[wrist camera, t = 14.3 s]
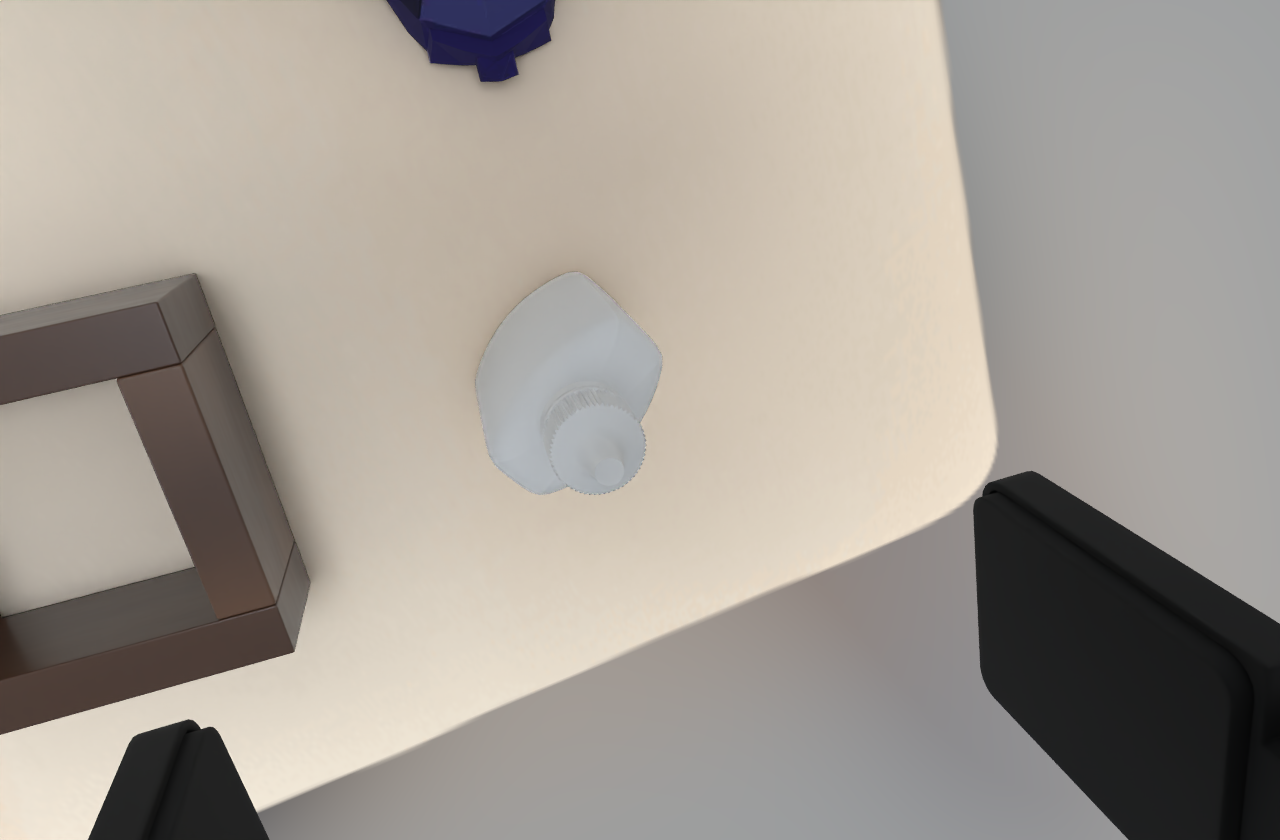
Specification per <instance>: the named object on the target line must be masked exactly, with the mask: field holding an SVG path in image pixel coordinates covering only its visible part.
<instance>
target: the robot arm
mask: <svg viewBox="0 0 1280 840" xmlns="http://www.w3.org/2000/svg"><path fill="white" fill-rule="evenodd" d="M973 514H974V535H975V536H974V537H975V559H976V579H977V580H976V581H977V604H978V626H979V649H980V668H981V673H982V676H983V680H984V682H985V684H986V687H987V688H988V690H989V692H990V693H991V694H992V696H993V697H994V698H995V699H996V700H997V701H998V702H999V703H1000V704H1001V705H1002V707H1003V708H1004V709H1005V710H1006V711H1007V712H1008V713H1009V714H1010V715H1011V716H1012V717H1013V718H1014V719H1015V720H1016V721H1017V722H1018V724H1020V726H1021V727H1022V728H1023V729H1024V730H1025V731H1026V732H1027V733H1028V734H1029V735H1030V736H1031V737H1032V738H1033V739H1034V740H1035V741H1036V742H1037V744H1038V745H1040V747H1041V748H1042V749H1043V750H1044V751H1045V752H1046V753H1047V754H1048V755H1049V756H1050V757H1051V758H1052V759H1053V760H1054V761H1055V763H1056V764H1058V766H1059V767H1060V768H1061V769H1062V770H1063V771H1064V772H1065V773H1066V774H1067V775H1068V776H1069V777H1070V778H1071V779H1072V780H1073V781H1074V783H1075V784H1076V785H1077V786H1078V787H1079V788H1080V789H1081V790H1082V791H1083V792H1084V793H1085V794H1086V795H1087V796H1088V797H1089V798H1090V799H1091V801H1092V802H1093V803H1094V804H1095V805H1096V806H1097V807H1098V808H1099V809H1100V810H1101V811H1102V812H1103V813H1104V814H1105V815H1106V816H1107V817H1108V819H1110V821H1111V822H1112V823H1113V824H1114V825H1115V826H1116V827H1117V828H1118V829H1119V830H1120V831H1121V832H1122V833H1123V834H1124V835H1125V836H1126V837H1127V838H1128V840H1280V624H1279V623H1277V622H1276V621H1274V620H1273V619H1271V618H1270V617H1268V616H1266V615H1265V614H1263V613H1262V612H1260V611H1258V610H1257V609H1255V608H1254V607H1252V606H1250V605H1248V604H1247V603H1245V602H1244V601H1242V600H1241V599H1239V598H1237V597H1236V596H1234V595H1232V594H1231V593H1229V592H1228V591H1226V590H1224V589H1223V588H1222V587H1220V586H1218V585H1217V584H1215V583H1213V582H1212V581H1210V580H1209V579H1207V578H1205V577H1204V576H1202V575H1201V574H1199V573H1197V572H1196V571H1194V570H1193V569H1191V568H1189V567H1188V566H1186V565H1185V564H1183V563H1181V562H1180V561H1178V560H1177V559H1175V558H1173V557H1172V556H1170V555H1169V554H1167V553H1165V552H1164V551H1162V550H1160V549H1159V548H1157V547H1156V546H1154V545H1152V544H1151V543H1149V542H1148V541H1146V540H1144V539H1143V538H1141V537H1140V536H1138V535H1136V534H1134V533H1133V532H1132V531H1130V530H1128V529H1127V528H1125V527H1124V526H1122V525H1120V524H1118V523H1117V522H1116V521H1114V520H1112V519H1111V518H1109V517H1108V516H1106V515H1104V514H1103V513H1101V512H1100V511H1098V510H1096V509H1094V508H1093V507H1092V506H1090V505H1088V504H1087V503H1085V502H1083V501H1082V500H1080V499H1079V498H1077V497H1075V496H1074V495H1072V494H1070V493H1069V492H1067V491H1066V490H1064V489H1063V488H1061V487H1059V486H1058V485H1056V484H1055V483H1053V482H1051V481H1050V480H1048V479H1046V478H1045V477H1043V476H1041V475H1040V474H1038V473H1036V472H1033V471H1027V472H1024V473H1020V474H1017V475H1013V476H1010V477H1007V478H1003V479H1000V480H997V481H993V482H990V483H988V484H987V485H986V486H985V488H984V490H983V496H982V497H980V498H978V499H976V500H975V503H974V509H973ZM88 840H269V838H268V836H267V834H266V831H265V830H264V827H263V825H262V823H261V821H260V819H259V817H258V814H257V812H256V810H255V808H254V806H253V804H252V802H251V800H250V798H249V795H248V793H247V791H246V789H245V787H244V785H243V783H242V781H241V778H240V776H239V774H238V772H237V770H236V768H235V766H234V764H233V761H232V759H231V757H230V755H229V753H228V751H227V749H226V747H225V745H224V742H223V740H222V738H221V736H220V734H219V733H218V731H217V730H216V729H215V728H214V727H207V728H204V729H200V727H199V725H198V724H197V723H196V722H194V721H193V720H189V719H188V720H185V721H181V722H178V723H174V724H171V725H168V726H164V727H161V728H158V729H154V730H151V731H147V732H144V733H141V734H138V735H136V736H134V737H133V738H132V740H131V741H130V743H129V745H128V747H127V750H126V752H125V754H124V757H123V759H122V761H121V764H120V766H119V768H118V771H117V773H116V775H115V778H114V780H113V782H112V785H111V787H110V789H109V792H108V794H107V796H106V799H105V801H104V803H103V806H102V808H101V810H100V813H99V815H98V817H97V820H96V822H95V824H94V827H93V829H92V831H91V834H90V836H89V838H88Z"/></svg>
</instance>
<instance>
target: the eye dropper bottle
mask: <svg viewBox="0 0 1280 840" xmlns="http://www.w3.org/2000/svg"><path fill="white" fill-rule="evenodd" d="M661 369H662V355H661V352H660V351H659V349H658V347H657V345H656V344H655V343H654V341H653V340H652V339H651V338H650V337H649V336H648V335H647V334H646V332H645V331H644V330H643V329H642V328H641V327H640V326H639V325H638V324H637V323H636V322H635V321H634V320H633V319H632V318H631V317H630V316H629V315H628V314H627V313H626V312H625V311H624V310H623V309H622V308H621V307H620V305H619V304H618V303H617V302H616V301H615V300H614V299H613V298H611V297H610V296H609V295H608V294H607V293H606V292H605V291H604V290H603V289H602V288H600V287H599V286H598V285H597V284H596V283H595V282H594V281H592V280H591V279H590V278H589V277H588V276H586V275H584V274H582V273H580V272H568V273H565V274H563V275H561V276H558V277H556V278H554V279H552V280H551V281H549V282H547V283H546V284H544V285H542V286H541V287H539V288H538V289H536V290H535V291H533V292H532V293H531V294H530V295H528V296H527V297H526V298H525V299H523V300H522V301H521V302H520V303H519V304H518V305H517V306H516V307H515V308H514V309H513V310H512V311H511V312H510V313H509V314H508V316H507V317H506V318H505V319H504V320H503V322H502V323H501V324H500V326H499V327H498V329H497V330H496V332H495V333H494V335H493V337H492V338H491V340H490V342H489V344H488V346H487V348H486V350H485V352H484V354H483V357H482V359H481V362H480V365H479V368H478V371H477V375H476V379H475V386H476V395H477V400H478V405H479V411H480V416H481V421H482V426H483V431H484V436H485V441H486V446H487V449H488V453H489V456H490V458H491V460H492V461H493V463H494V464H495V466H496V467H497V468H498V469H499V470H500V471H502V472H503V473H504V474H505V475H507V476H508V477H509V478H511V479H512V480H513V481H515V482H516V483H517V484H519V485H520V486H522V487H523V488H525V489H526V490H528V491H530V492H532V493H535V494H538V495H543V494H550V493H553V492H556V491H558V490H561V489H563V488H566V487H570V488H571V489H575V491H579V492H580V493H583V492H584V494H587V493H588V494H589V495H591V494H594V495H596V494H599V495H600V494H602V493H603V494H605V493H607V492H608V493H610V492H611V491H615V490H616V489H619V488H620V487H623V486H624V484H627V483H628V481H630V480H631V478H633V477H635V474H636V473H638V472H637V470H639V469H640V466H641V465H642V461H643V460H644V458H643V457H644V456H645V453H644V452H645V451H646V449H645V447H646V444H645V442H646V440H645V435H644V431H643V429H642V426H641V424H640V422H641V420H642V418H643V416H644V415H645V413H646V411H647V409H648V407H649V405H650V403H651V400H652V398H653V395H654V393H655V390H656V387H657V384H658V381H659V378H660V374H661Z"/></svg>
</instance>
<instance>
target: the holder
mask: <svg viewBox="0 0 1280 840" xmlns="http://www.w3.org/2000/svg"><path fill="white" fill-rule="evenodd" d="M214 327H215V324H214V321H213V319H212V316H211V313H210V311H209V308H208V305H207V303H206V300H205V297H204V295H203V292H202V289H201V286H200V284H199V281H198V278H197V276H196V274H194V273H193V274H188V275H184V276H179V277H174V278H170V279H165V280H161V281H156V282H151V283H147V284H142V285H138V286H133V287H128V288H124V289H119V290H114V291H110V292H105V293H101V294H96V295H91V296H87V297H82V298H78V299H73V300H68V301H64V302H59V303H55V304H50V305H45V306H41V307H36V308H31V309H27V310H22V311H18V312H13V313H8V314H4V315H0V405H3V404H7V403H11V402H16V401H20V400H24V399H29V398H33V397H37V396H42V395H46V394H50V393H55V392H59V391H64V390H68V389H72V388H77V387H81V386H85V385H90V384H94V383H98V382H103V381H107V380H111V379H116V378H117V384H118V386H119V388H120V391H121V393H122V395H123V398H124V400H125V403H126V405H127V407H128V410H129V412H130V414H131V417H132V419H133V421H134V424H135V426H136V429H137V431H138V433H139V436H140V438H141V440H142V443H143V445H144V447H145V450H146V452H147V454H148V457H149V459H150V462H151V464H152V466H153V469H154V471H155V473H156V476H157V478H158V480H159V483H160V485H161V488H162V490H163V492H164V495H165V497H166V499H167V502H168V504H169V506H170V509H171V511H172V514H173V516H174V518H175V521H176V523H177V525H178V528H179V530H180V532H181V535H182V537H183V540H184V542H185V544H186V547H187V549H188V551H189V554H190V556H191V558H192V561H193V563H194V566H195V568H191V569H187V570H183V571H180V572H176V573H172V574H168V575H164V576H160V577H157V578H153V579H149V580H145V581H141V582H138V583H134V584H130V585H126V586H122V587H119V588H115V589H111V590H107V591H103V592H100V593H96V594H92V595H88V596H84V597H81V598H77V599H73V600H69V601H65V602H62V603H58V604H54V605H50V606H46V607H43V608H39V609H35V610H31V611H27V612H24V613H20V614H16V615H12V616H8V617H5V618H1V614H0V735H1V734H5V733H8V732H12V731H15V730H19V729H22V728H26V727H30V726H33V725H37V724H40V723H44V722H47V721H51V720H55V719H58V718H62V717H65V716H69V715H72V714H76V713H79V712H83V711H87V710H90V709H94V708H97V707H101V706H104V705H108V704H112V703H115V702H119V701H122V700H126V699H129V698H133V697H136V696H140V695H144V694H147V693H151V692H154V691H158V690H161V689H165V688H169V687H172V686H176V685H179V684H183V683H186V682H190V681H193V680H197V679H201V678H204V677H208V676H211V675H215V674H218V673H222V672H226V671H229V670H233V669H236V668H240V667H243V666H247V665H250V664H254V663H258V662H261V661H265V660H268V659H272V658H275V657H279V656H283V655H286V654H290V653H293V652H294V651H295V647H296V643H297V639H298V634H299V630H300V626H301V622H302V617H303V613H304V609H305V604H306V600H307V596H308V592H309V587H310V580H309V577H308V575H307V572H306V569H305V566H304V564H303V561H302V558H301V556H300V553H299V550H298V548H297V545H296V542H295V541H294V538H293V535H292V532H291V530H290V527H289V524H288V521H287V519H286V516H285V513H284V511H283V508H282V505H281V503H280V500H279V497H278V495H277V492H276V489H275V486H274V484H273V481H272V478H271V476H270V473H269V470H268V468H267V465H266V462H265V460H264V457H263V454H262V451H261V449H260V446H259V443H258V441H257V438H256V435H255V433H254V430H253V427H252V424H251V422H250V419H249V416H248V414H247V411H246V408H245V406H244V403H243V400H242V398H241V395H240V392H239V389H238V387H237V384H236V381H235V379H234V376H233V373H232V371H231V368H230V365H229V363H228V360H227V357H226V354H225V352H224V349H223V346H222V344H221V341H220V338H219V336H218V333H217V330H216V329H215V328H214Z"/></svg>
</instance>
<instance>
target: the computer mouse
mask: <svg viewBox="0 0 1280 840" xmlns="http://www.w3.org/2000/svg"><path fill="white" fill-rule="evenodd" d="M387 1H388V3H389V4H390V6H391V7H392V9H393V10H394V12H395V13H396V15H397V16H398V18H399V19H400V21H401V22H402V24H403V25H404V27H405V28H406V30H407V31H408V33H409V34H410V35H411V36H412V37H413V38H414V39H415V40H416V41H417V42H418V43H419V44H420V45H421V46H422V47H423V48H424V49H425V50H426V51H427V52H428V56H429V60H430V63H436V64H450V65H477V69H478V73H479V77H480V81H481V82H499V81H504V80H506V79H509V78H511V77H514V76H516V75H519V73H518V69H517V65H516V61H515V57H518V56H521V55H523V54H526V53H528V52H530V51H532V50H534V49H536V48H538V47H540V46H542V45H544V44H546V43H548V42H550V41H551V37H550V32H549V28H550V26H551V23H552V21H553V18H554V6H555V0H387Z"/></svg>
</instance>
